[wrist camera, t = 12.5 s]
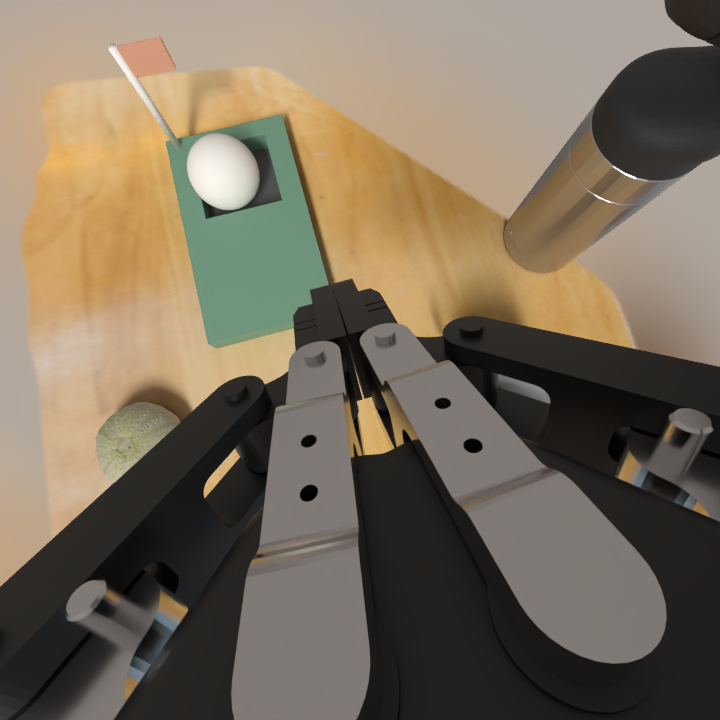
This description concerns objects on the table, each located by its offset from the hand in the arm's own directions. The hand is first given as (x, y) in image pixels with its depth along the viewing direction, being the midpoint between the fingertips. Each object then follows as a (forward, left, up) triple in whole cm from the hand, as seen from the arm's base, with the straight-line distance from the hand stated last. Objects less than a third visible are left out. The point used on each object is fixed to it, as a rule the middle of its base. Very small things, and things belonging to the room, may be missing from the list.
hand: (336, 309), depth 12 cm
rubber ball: (+8, -28, -26) cm, 39 cm away
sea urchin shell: (+24, 0, -30) cm, 39 cm away
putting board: (+7, -22, -30) cm, 38 cm away
